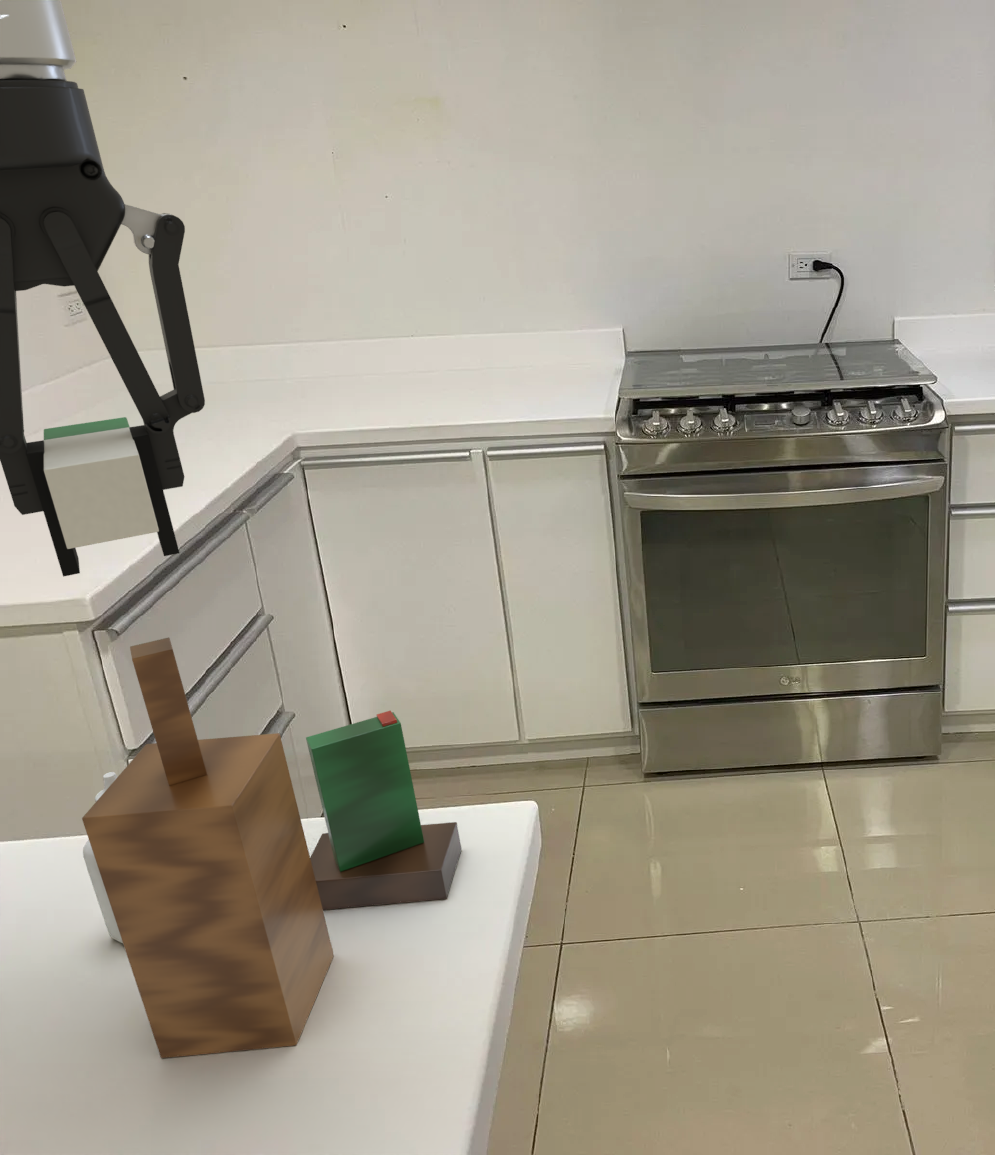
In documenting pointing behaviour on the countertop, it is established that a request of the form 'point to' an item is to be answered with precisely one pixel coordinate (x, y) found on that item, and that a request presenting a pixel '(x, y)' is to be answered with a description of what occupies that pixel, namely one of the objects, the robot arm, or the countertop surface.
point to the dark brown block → (390, 872)
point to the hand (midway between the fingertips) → (120, 556)
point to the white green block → (97, 482)
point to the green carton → (366, 790)
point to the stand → (210, 879)
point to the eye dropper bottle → (96, 876)
